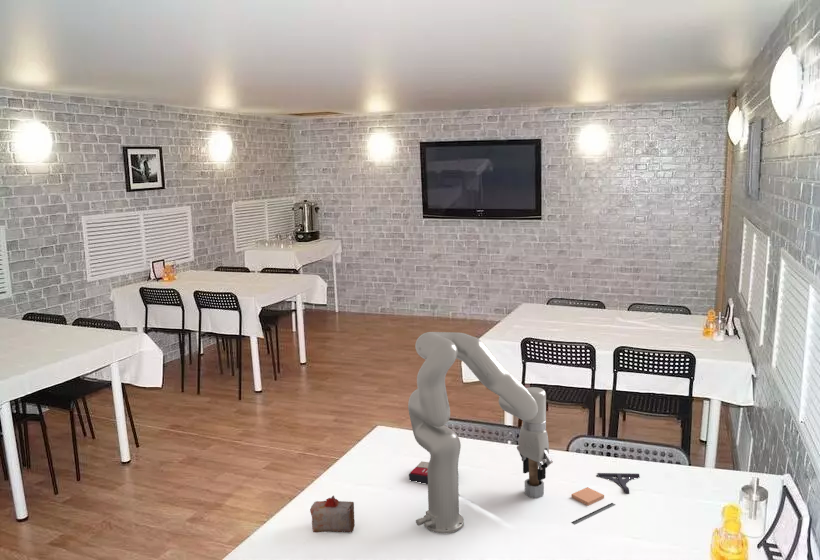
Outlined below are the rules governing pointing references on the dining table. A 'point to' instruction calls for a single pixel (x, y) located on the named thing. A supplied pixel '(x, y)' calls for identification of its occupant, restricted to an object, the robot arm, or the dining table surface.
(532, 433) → the robot arm
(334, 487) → the dining table surface
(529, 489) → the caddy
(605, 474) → the bracket
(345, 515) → the food item
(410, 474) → the calculator
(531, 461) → the rod
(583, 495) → the tile
